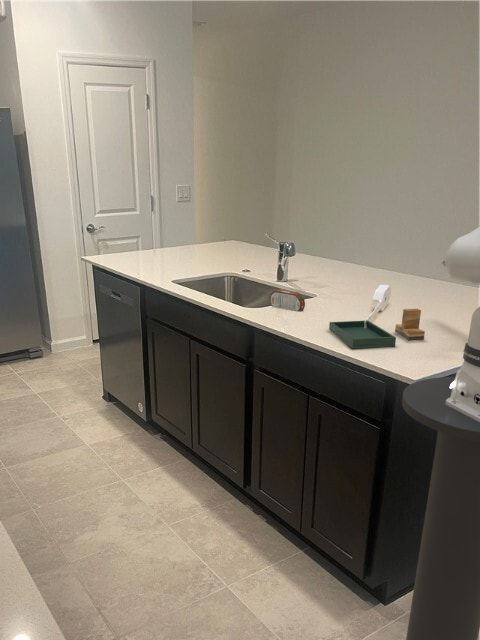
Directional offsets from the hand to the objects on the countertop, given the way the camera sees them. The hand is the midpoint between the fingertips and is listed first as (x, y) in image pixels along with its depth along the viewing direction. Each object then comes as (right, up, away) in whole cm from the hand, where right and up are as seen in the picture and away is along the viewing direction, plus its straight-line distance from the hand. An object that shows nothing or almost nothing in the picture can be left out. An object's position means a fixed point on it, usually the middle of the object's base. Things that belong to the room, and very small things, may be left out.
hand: (450, 265), depth 172 cm
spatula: (-15, -12, +30) cm, 35 cm away
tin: (-44, -9, +43) cm, 62 cm away
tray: (-26, -22, +6) cm, 35 cm away
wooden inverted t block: (-10, -22, +7) cm, 25 cm away
